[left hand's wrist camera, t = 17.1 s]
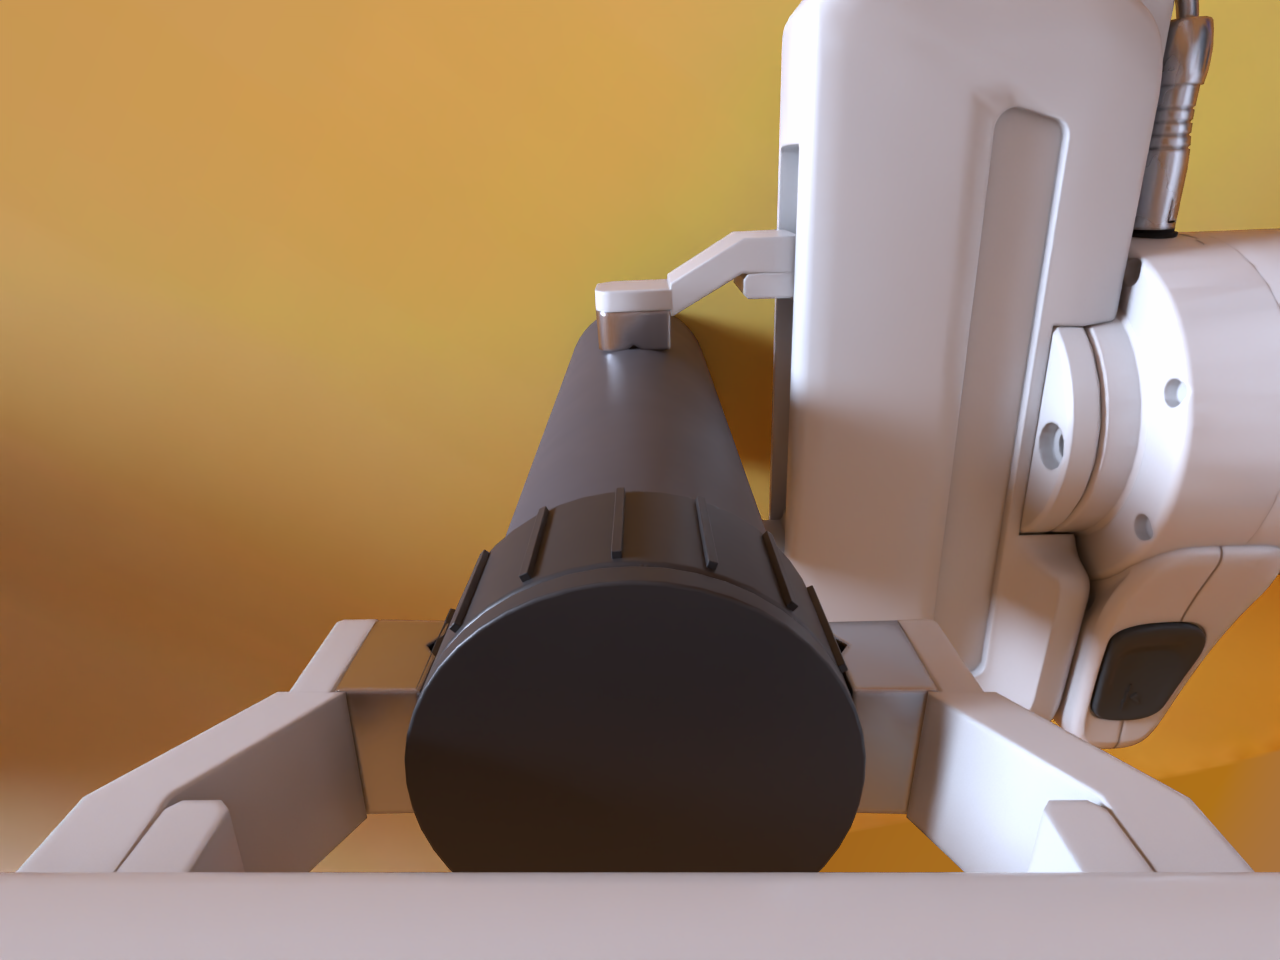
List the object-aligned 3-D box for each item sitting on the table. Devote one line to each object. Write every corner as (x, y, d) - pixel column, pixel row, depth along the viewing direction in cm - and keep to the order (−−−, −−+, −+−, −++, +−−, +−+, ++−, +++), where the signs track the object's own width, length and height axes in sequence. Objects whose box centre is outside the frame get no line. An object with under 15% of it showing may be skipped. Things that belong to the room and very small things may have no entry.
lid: (372, 629, 10) (299, 751, 8) (672, 405, 9) (681, 478, 7) (608, 850, 12) (601, 1004, 10) (892, 682, 11) (956, 815, 8)
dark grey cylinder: (640, 275, 24) (643, 490, 8) (732, 375, 26) (904, 745, 9) (543, 370, 25) (364, 733, 9) (635, 461, 27) (629, 930, 10)
